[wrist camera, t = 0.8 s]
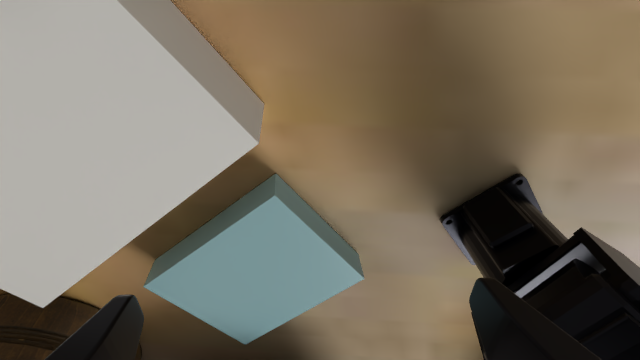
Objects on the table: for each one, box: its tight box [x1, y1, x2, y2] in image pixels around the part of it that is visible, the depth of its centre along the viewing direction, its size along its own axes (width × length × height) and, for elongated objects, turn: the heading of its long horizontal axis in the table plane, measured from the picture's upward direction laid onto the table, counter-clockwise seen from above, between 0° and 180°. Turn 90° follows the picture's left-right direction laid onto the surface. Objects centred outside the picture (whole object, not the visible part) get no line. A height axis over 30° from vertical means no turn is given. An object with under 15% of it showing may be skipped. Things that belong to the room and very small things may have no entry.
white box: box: [0, 0, 264, 308], centre depth 17 cm, size 11×17×5 cm, turn 127°
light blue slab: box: [144, 173, 364, 345], centre depth 25 cm, size 10×12×2 cm
